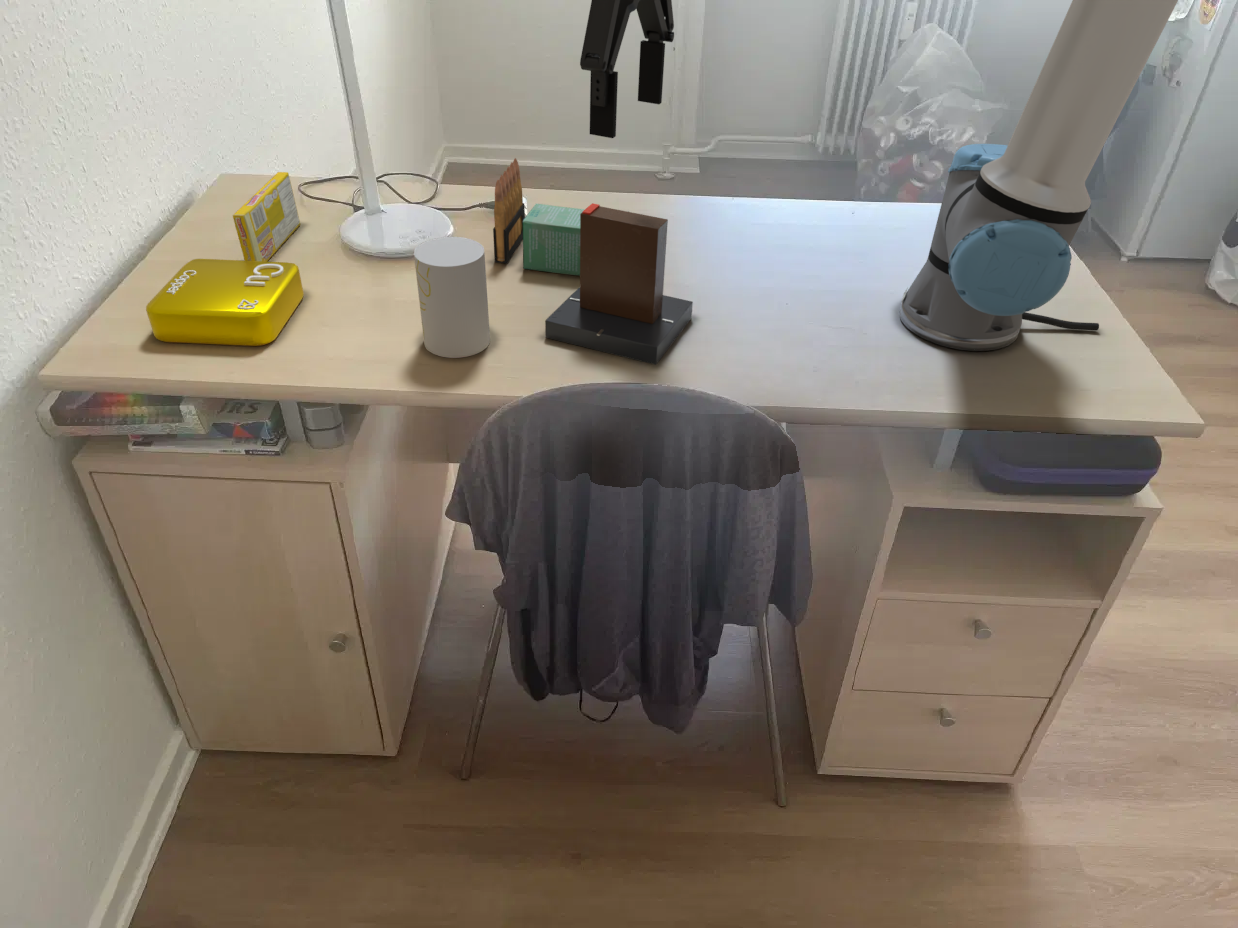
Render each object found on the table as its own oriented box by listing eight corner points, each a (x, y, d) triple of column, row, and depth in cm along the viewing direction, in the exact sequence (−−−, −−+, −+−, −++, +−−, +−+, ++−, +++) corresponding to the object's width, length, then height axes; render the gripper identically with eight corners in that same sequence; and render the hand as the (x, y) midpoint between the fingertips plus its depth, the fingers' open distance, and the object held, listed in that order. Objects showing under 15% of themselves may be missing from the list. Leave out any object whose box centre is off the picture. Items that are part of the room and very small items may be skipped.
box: (615, 281, 129) (617, 231, 124) (522, 271, 131) (520, 221, 126) (625, 260, 135) (626, 210, 130) (535, 250, 137) (534, 201, 132)
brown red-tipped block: (661, 313, 117) (668, 217, 109) (652, 324, 114) (658, 227, 107) (590, 296, 120) (591, 202, 112) (579, 307, 117) (580, 211, 110)
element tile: (198, 286, 124) (189, 253, 121) (308, 291, 124) (302, 258, 121) (148, 342, 112) (137, 307, 109) (271, 348, 112) (262, 313, 109)
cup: (431, 323, 118) (421, 235, 111) (494, 326, 118) (489, 238, 111) (418, 356, 112) (407, 265, 104) (484, 359, 111) (478, 268, 104)
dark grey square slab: (693, 316, 122) (694, 298, 120) (654, 367, 111) (655, 348, 110) (589, 293, 126) (590, 275, 124) (543, 340, 116) (542, 321, 114)
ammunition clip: (506, 264, 132) (502, 182, 125) (494, 263, 133) (489, 181, 125) (526, 234, 141) (523, 156, 133) (514, 233, 141) (510, 155, 134)
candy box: (287, 224, 141) (277, 171, 136) (301, 225, 141) (291, 171, 136) (244, 270, 128) (231, 213, 123) (259, 271, 128) (246, 214, 123)
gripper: (647, -119, 100) (638, 85, 113) (544, -95, 81) (546, 145, 94) (713, -113, 98) (695, 94, 111) (622, -87, 79) (613, 157, 92)
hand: (627, 118), depth 103 cm, fingers open, 13 cm apart
